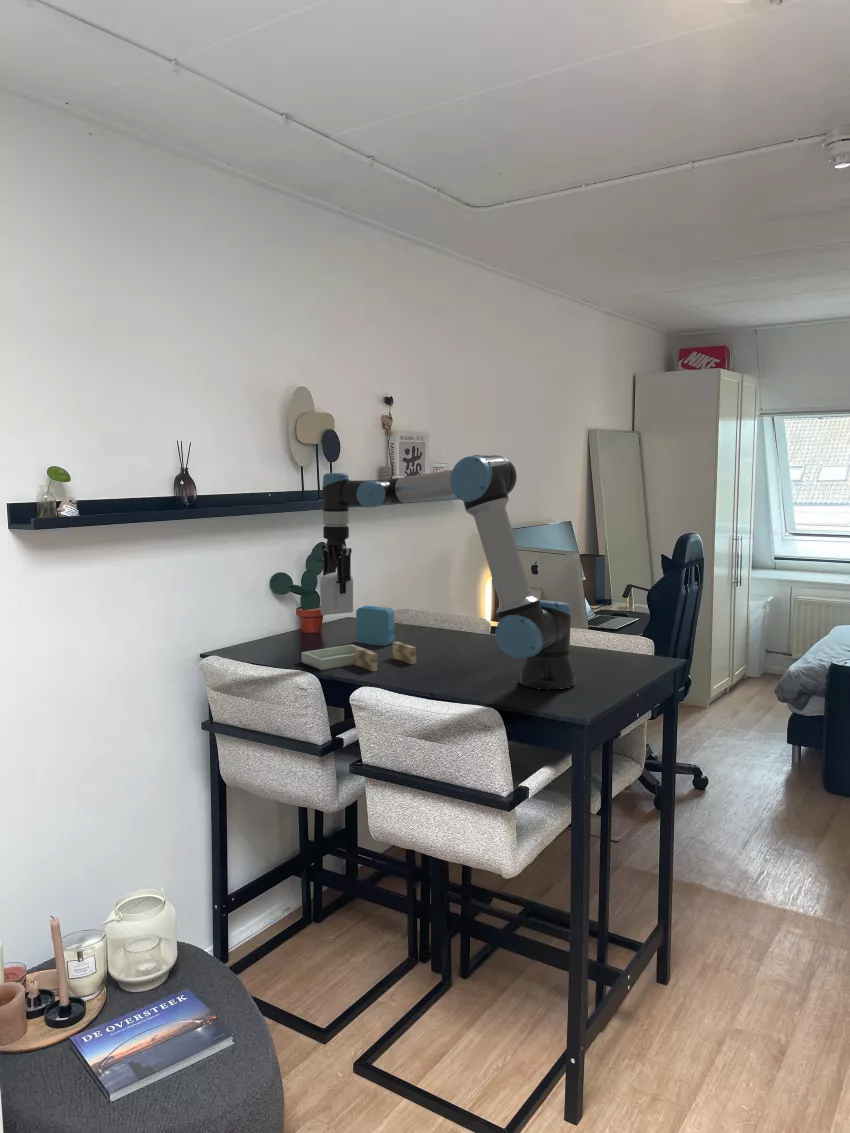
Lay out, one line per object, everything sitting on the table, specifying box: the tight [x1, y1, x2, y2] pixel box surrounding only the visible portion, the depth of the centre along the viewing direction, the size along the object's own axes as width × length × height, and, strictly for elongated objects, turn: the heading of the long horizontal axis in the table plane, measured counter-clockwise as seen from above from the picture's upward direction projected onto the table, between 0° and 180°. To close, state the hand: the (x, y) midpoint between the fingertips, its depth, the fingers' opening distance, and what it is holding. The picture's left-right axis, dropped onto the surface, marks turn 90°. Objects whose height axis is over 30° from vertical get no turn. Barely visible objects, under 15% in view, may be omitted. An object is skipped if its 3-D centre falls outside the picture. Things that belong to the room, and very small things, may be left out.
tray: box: [301, 643, 374, 671], centre depth 257 cm, size 12×18×3 cm, turn 127°
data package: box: [355, 605, 395, 647], centre depth 281 cm, size 12×4×12 cm, turn 66°
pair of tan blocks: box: [353, 640, 417, 672], centre depth 254 cm, size 10×16×5 cm, turn 127°
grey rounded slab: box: [319, 571, 354, 616], centre depth 255 cm, size 10×4×12 cm, turn 124°
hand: (336, 602), depth 255 cm, fingers closed on grey rounded slab, 4 cm apart
